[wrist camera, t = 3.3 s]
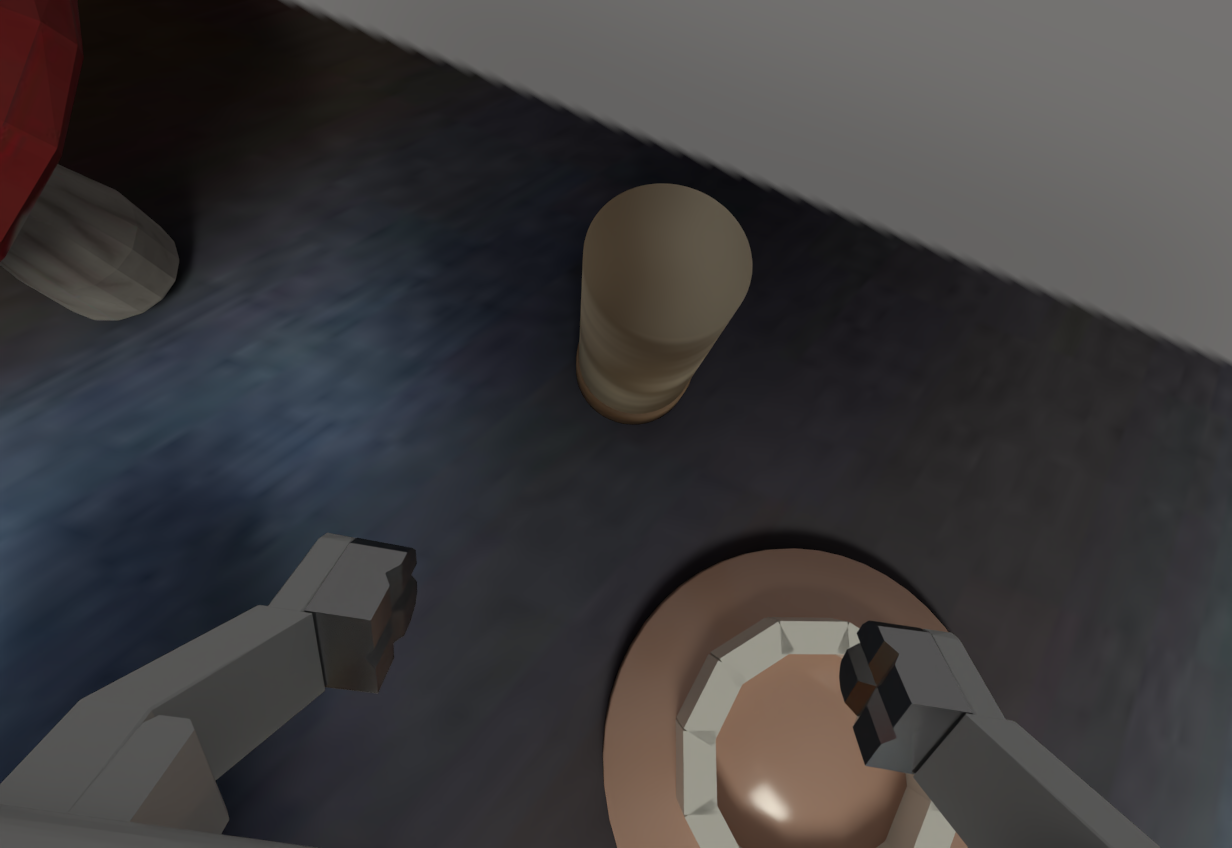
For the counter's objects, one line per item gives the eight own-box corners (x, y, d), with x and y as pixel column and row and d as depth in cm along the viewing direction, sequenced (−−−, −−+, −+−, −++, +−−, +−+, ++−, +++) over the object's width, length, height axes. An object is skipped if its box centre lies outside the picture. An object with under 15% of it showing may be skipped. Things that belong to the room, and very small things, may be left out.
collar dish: (959, 552, 25) (997, 551, 23) (1013, 979, 21) (1065, 1029, 19) (606, 545, 24) (610, 543, 22) (597, 996, 20) (600, 1051, 18)
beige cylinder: (686, 321, 27) (751, 186, 17) (687, 426, 25) (759, 345, 16) (578, 316, 26) (582, 175, 17) (574, 422, 25) (576, 336, 15)
